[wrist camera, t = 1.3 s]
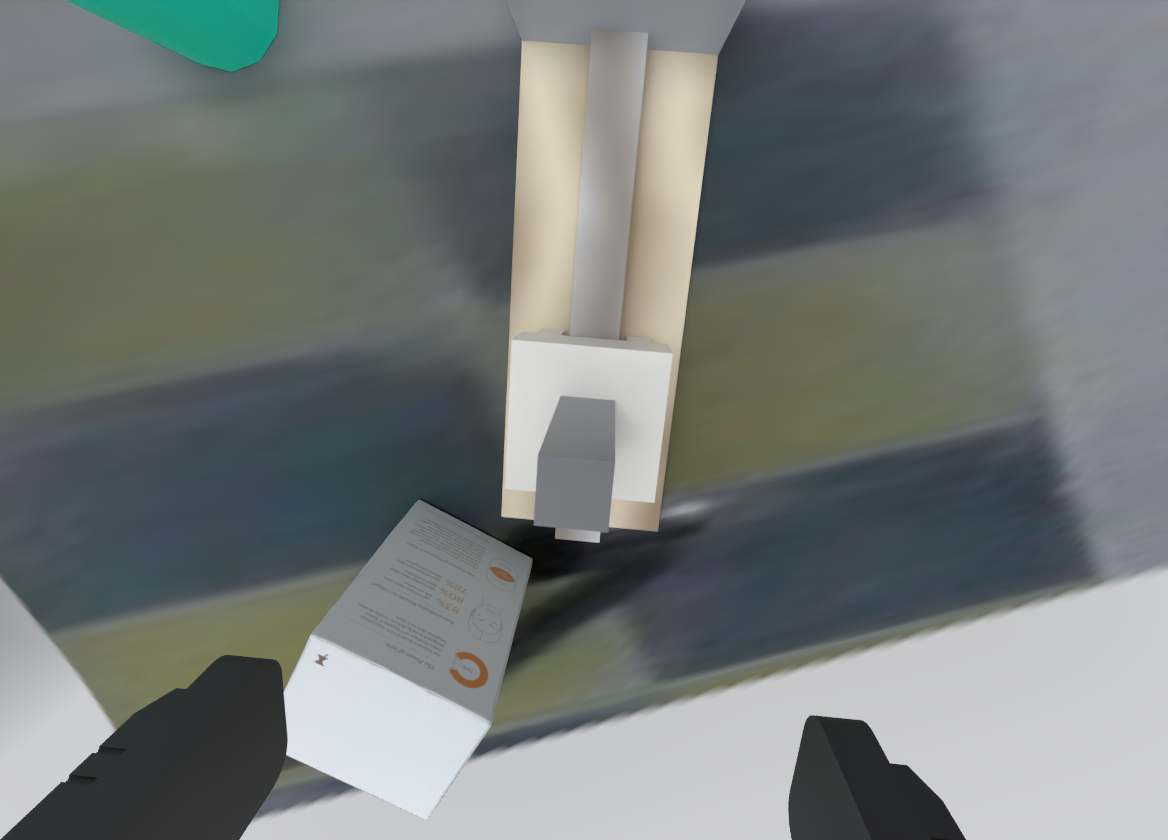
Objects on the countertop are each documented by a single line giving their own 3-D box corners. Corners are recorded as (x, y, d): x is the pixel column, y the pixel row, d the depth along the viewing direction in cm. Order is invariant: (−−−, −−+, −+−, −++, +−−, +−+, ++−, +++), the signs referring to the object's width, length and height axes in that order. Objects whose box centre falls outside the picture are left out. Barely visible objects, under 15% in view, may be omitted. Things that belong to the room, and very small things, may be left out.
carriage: (520, 455, 31) (461, 581, 19) (527, 327, 29) (466, 375, 17) (648, 467, 31) (671, 602, 19) (663, 338, 29) (700, 396, 17)
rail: (506, 505, 34) (494, 532, 31) (526, 51, 28) (514, 23, 24) (655, 520, 34) (660, 548, 31) (712, 65, 27) (726, 38, 24)
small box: (376, 575, 36) (251, 744, 24) (418, 495, 34) (307, 631, 22) (490, 633, 37) (427, 827, 24) (536, 558, 35) (494, 723, 23)
